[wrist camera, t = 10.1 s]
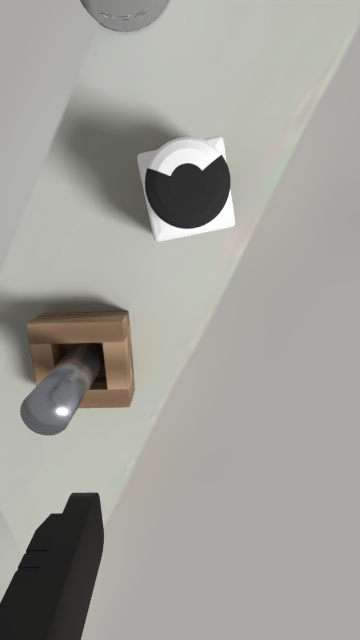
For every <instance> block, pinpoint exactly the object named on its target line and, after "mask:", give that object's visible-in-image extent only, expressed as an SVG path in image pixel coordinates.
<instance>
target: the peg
mask: <svg viewBox="0 0 360 640" xmlns="http://www.w3.org/2000/svg"><path fill="white" fill-rule="evenodd" d="M104 362H105V360H104V351H103V349H102V347H101V346H100V345H99V344H97V343H77V344H76V345H75V346H74V347H73V348H72V349H71V350H70V351H69V352H68V353H67V354H66V355H65V356H64V357H63V358H62V360H61V361H60V362H59V363H58V364H57V365H56V366H55V367H54V368H53V369H52V370H51V371H50V373H49V374H48V375H47V376H46V377H45V378H44V379H43V380H42V381H41V382H40V383H39V384H38V385H37V387H36V388H35V389H34V390H33V391H32V392H31V393H30V394H29V395H28V396H27V397H26V398H25V400H24V401H23V403H22V405H21V410H20V412H21V417H22V420H23V422H24V423H25V424H26V426H27V427H28V428H29V429H31V430H32V431H34V432H36V433H38V434H41V435H55V434H58V433H60V432H62V431H63V430H64V429H65V428H66V427H67V425H68V424H69V422H70V420H71V419H72V417H73V415H74V414H75V412H76V410H77V409H78V407H79V405H80V403H81V402H82V400H83V398H84V397H85V395H86V393H87V392H88V390H89V388H90V387H91V385H92V383H93V381H94V380H95V378H96V376H97V375H98V373H99V371H100V370H101V368H102V366H103V364H104Z"/></svg>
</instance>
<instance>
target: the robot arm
mask: <svg viewBox="0 0 360 640" xmlns="http://www.w3.org/2000/svg"><path fill="white" fill-rule="evenodd" d="M80 1H81V3H82V4H83V6H84V7H85V8H86V10H87V11H88V13H89V14H90V15H91V16H92V17H93V18H94V19H95V20H96V21H98V22H99V23H101V24H102V25H104V26H106V27H108V28H111V29H114V30H116V31H127V32H128V31H133V30H138V29H141V28H143V27H145V26H147V25H149V24H150V23H151V22H153V21H154V20H155V19H156V18H157V17H158V16H159V15H160V14H161V12H162V11H163V10H164V9H165V7H166V5H167V3H168V1H169V0H80ZM103 544H104V529H103V521H102V513H101V505H100V497H99V494H98V493H72V494H71V495H70V497H69V499H68V502H67V504H66V506H65V509H64V511H63V513H62V514H50V516H49V517H48V518H47V519H46V520H45V521H44V522H43V523H42V524H41V525H40V526H39V528H38V529H37V530H36V531H35V533H34V535H33V537H32V539H31V542H30V544H29V546H28V548H27V550H26V554H24V556H23V558H22V560H21V562H20V564H19V566H18V570H17V571H16V572H15V574H14V576H13V578H12V580H11V583H10V584H9V587H8V589H7V591H6V593H5V595H4V597H3V599H2V601H1V603H0V640H81V636H82V633H83V629H84V624H85V621H86V617H87V612H88V609H89V605H90V601H91V597H92V593H93V589H94V585H95V581H96V577H97V573H98V569H99V565H100V561H101V557H102V552H103Z"/></svg>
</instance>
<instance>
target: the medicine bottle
mask: <svg viewBox="0 0 360 640" xmlns="http://www.w3.org/2000/svg"><path fill="white" fill-rule="evenodd" d="M137 162H138V166H139V171H140V176H141V180H142V185H143V190H144V195H145V199H146V204H147V209H148V213H149V218H150V223H151V227H152V232H153V237H154V240H155V241H157V242H160V241H165V240H170V239H175V238H180V237H185V236H190V235H195V234H199V233H204V232H209V231H214V230H219V229H224V228H229V227H232V226H234V224H235V218H234V211H233V205H232V198H231V191H230V173H229V169H228V166H227V163H226V156H225V149H224V142H223V138H222V137H221V136H216V137H211V138H207V139H200V138H196V137H180V138H176V139H173V140H171V141H169V142H167V143H166V144H164V145H163V146H161V147H160V148H159V149H158V150H153V151H149V152H144V153H140V154H138V156H137Z"/></svg>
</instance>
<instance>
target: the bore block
mask: <svg viewBox="0 0 360 640" xmlns="http://www.w3.org/2000/svg"><path fill="white" fill-rule="evenodd" d="M26 326H27V332H28V337H29V343H30V349H31V354H32V360H33V366H34V372H35V377H36V383H37V385H38V384H39V383H40V382H41V381H42V380H43V379H44V378H45V377H46V376H47V375H48V374H49V373H50V371H51V370H52V369H53V368H54V367H55V366H56V365H57V364H58V363H59V362H60V361H61V360H62V358H63V357H64V356H65V355H66V354H67V353H68V352H69V351H70V350H71V349H72V348H73V347H74V346H75V345H76V344H77V343H97V344H99V345H100V346H101V347H102V349H103V351H104V360H105V362H104V364H103V366H102V368H101V370H100V371H99V373H98V375H97V376H96V378H95V380H94V381H93V383H92V385H91V387H90V388H89V390H88V392H87V393H86V395H85V397H84V398H83V400H82V402H81V403H80V405H79V407H78V408H114V407H130V404H131V401H132V398H133V394H134V391H135V384H134V372H133V359H132V347H131V334H130V322H129V312H93V313H58V314H42V315H40V316H38V317H37V318H35V319H34V320H32V321H30V322H29V323H27V324H26Z"/></svg>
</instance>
